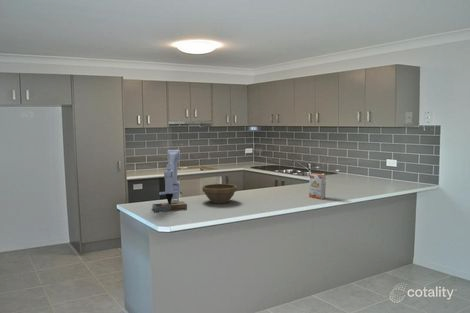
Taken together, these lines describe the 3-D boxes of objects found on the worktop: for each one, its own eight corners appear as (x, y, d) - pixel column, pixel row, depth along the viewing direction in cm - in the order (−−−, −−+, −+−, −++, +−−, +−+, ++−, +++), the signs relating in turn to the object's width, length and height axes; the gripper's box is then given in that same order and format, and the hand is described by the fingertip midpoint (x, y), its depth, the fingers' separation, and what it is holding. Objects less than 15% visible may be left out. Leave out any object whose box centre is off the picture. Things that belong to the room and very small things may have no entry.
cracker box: (308, 196, 365) (309, 173, 363) (313, 196, 369) (313, 173, 367) (320, 199, 354) (321, 175, 352) (325, 198, 358) (326, 174, 356)
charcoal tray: (152, 208, 319) (152, 204, 318) (167, 207, 323) (167, 202, 323) (155, 211, 308) (155, 207, 307) (171, 210, 312) (171, 206, 312)
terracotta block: (162, 209, 313) (161, 209, 315) (167, 209, 315) (166, 208, 317) (162, 204, 312) (161, 204, 314) (167, 203, 314) (166, 203, 316)
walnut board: (168, 207, 323) (168, 202, 323) (182, 206, 328) (182, 201, 327) (171, 210, 312) (171, 205, 312) (186, 209, 317) (186, 204, 316)
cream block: (171, 202, 323) (171, 199, 323) (176, 201, 324) (176, 198, 324) (173, 203, 319) (172, 200, 319) (178, 202, 321) (178, 199, 321)
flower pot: (197, 200, 351) (197, 184, 349) (227, 197, 364) (227, 182, 362) (211, 206, 326) (210, 190, 324) (242, 203, 339) (242, 187, 337)
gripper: (160, 187, 306) (160, 205, 308) (179, 186, 312) (179, 203, 313) (158, 185, 313) (158, 203, 314) (177, 184, 318) (177, 202, 320)
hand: (169, 203), depth 314 cm, fingers closed
